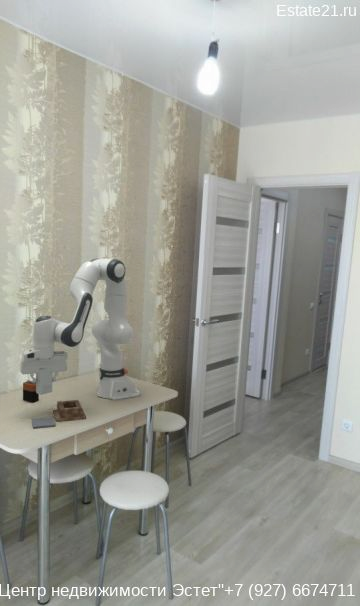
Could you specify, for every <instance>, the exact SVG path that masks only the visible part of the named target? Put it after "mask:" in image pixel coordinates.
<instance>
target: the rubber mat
mask: <svg viewBox="0 0 360 606" xmlns="http://www.w3.org/2000/svg"><path fill="white" fill-rule="evenodd" d="M31 424H32V428H33V430H35V429H42V428H43V429H44V428H52V427H56V422H55V418H54V417H53V416H51V417H44V418H43V417H41V418H31Z"/></svg>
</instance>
